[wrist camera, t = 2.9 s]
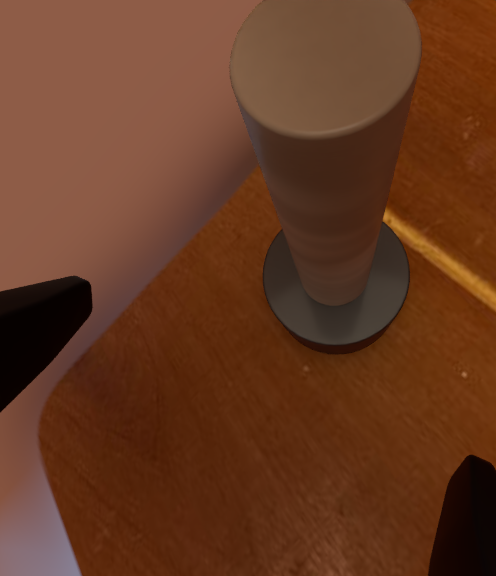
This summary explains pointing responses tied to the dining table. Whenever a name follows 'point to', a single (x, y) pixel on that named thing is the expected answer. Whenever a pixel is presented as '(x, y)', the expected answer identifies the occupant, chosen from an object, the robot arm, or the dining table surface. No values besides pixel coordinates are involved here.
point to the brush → (330, 158)
